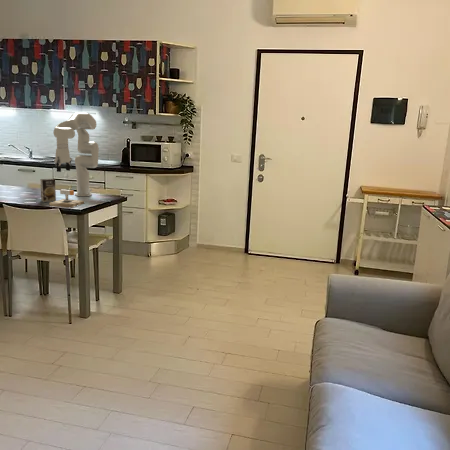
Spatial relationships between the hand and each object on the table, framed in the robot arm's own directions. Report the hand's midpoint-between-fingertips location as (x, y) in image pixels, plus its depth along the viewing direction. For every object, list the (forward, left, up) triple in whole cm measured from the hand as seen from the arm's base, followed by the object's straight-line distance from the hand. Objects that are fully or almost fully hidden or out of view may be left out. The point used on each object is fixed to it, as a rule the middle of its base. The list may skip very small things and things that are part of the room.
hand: (63, 171), depth 328 cm
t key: (-1, +1, -21) cm, 21 cm away
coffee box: (-6, -18, -24) cm, 31 cm away
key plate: (-1, +1, -24) cm, 24 cm away
